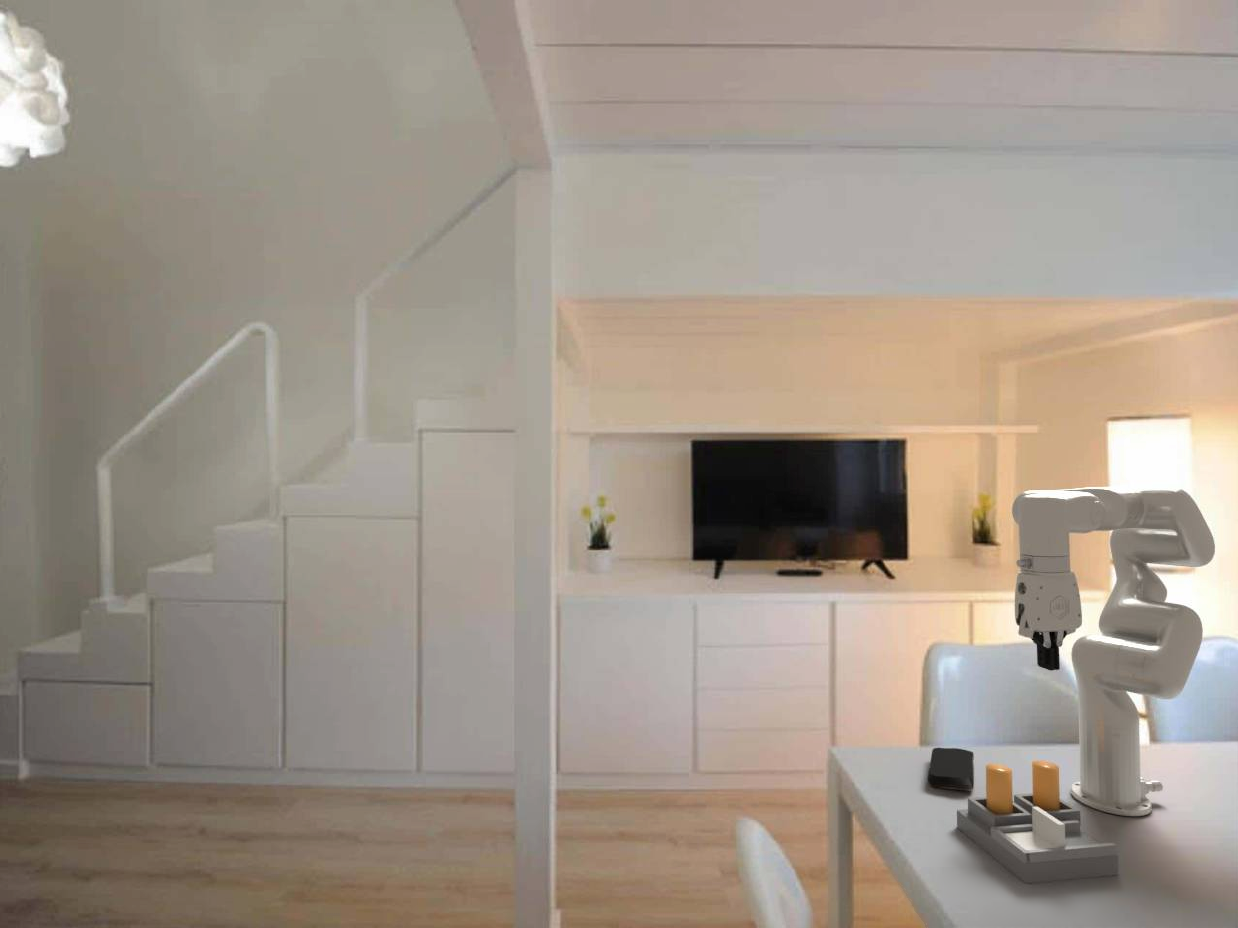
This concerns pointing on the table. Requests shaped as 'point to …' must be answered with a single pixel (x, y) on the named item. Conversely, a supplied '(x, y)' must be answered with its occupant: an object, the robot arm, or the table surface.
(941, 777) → the black sponge
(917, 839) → the table surface
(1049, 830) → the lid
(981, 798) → the housing
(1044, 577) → the robot arm
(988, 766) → the peg
